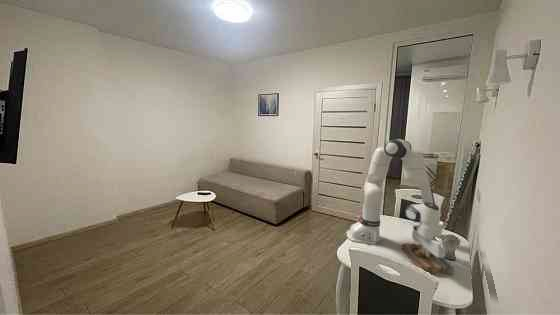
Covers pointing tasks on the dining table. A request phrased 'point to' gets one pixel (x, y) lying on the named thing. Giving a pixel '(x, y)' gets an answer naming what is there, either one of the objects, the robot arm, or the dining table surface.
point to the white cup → (440, 228)
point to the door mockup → (427, 261)
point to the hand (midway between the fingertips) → (426, 255)
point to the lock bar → (420, 253)
